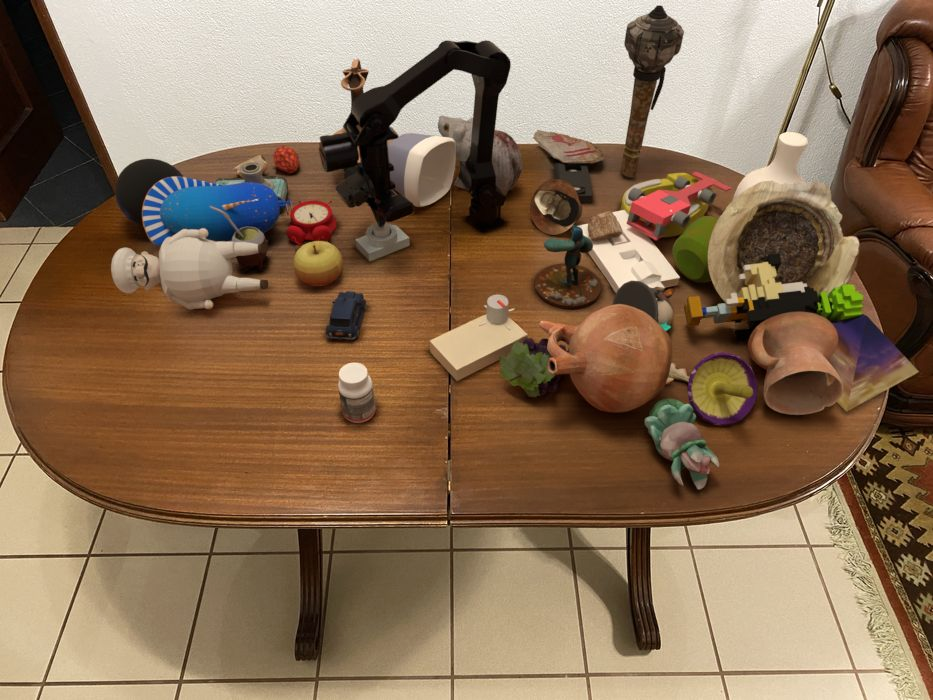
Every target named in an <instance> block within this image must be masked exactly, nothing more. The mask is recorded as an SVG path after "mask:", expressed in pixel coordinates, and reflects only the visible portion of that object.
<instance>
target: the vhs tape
mask: <svg viewBox="0 0 933 700" xmlns="http://www.w3.org/2000/svg"><path fill="white" fill-rule="evenodd" d="M553 173H554V174H553V175H554V179H560V180H563V181H566V182H568V183H569V184H570V185H572V187H573V188H574V189H575V191H576V192H577V195H578V198H579V201H580V203H581V204H583V203H587V204H591V203H592V202H593V196H594V193H593V188H592V184H591V179H590V174H589V167H588V163H563V162H554V165H553Z"/></svg>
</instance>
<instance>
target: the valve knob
mask: <svg viewBox="0 0 933 700" xmlns="http://www.w3.org/2000/svg"><path fill="white" fill-rule="evenodd" d="M486 306H487V308H486V314H487V320H488V321H489V322H490V323H493V324H502V323H504V322H506V320H507V318H508V316H509V312H508V311H509V299H508V298H507V297H506V296H505V295H502V294H492V295H490V296H489V297H487V300H486Z"/></svg>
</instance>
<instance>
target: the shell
mask: <svg viewBox="0 0 933 700" xmlns="http://www.w3.org/2000/svg"><path fill="white" fill-rule="evenodd" d="M251 162H255V163H259V164H261V165H262V168H263V171H262V174H263V173H265V172H266V171H267V170H268V169H269V163H268V162H266V159H265V157H264V156H263V155H261V154H258V155H256V156H253V157H252V158H250V159H248V160H245V161H242V162H241V163H240V164H238V165H237V166H235V167H232V171H233V170H236V173H237V175H238V176H239V177H240V178H244V176H243V175H242V174H241V172H240V168H241V166H243V165H244V164H247V163H251Z"/></svg>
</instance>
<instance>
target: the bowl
mask: <svg viewBox="0 0 933 700" xmlns="http://www.w3.org/2000/svg"><path fill="white" fill-rule="evenodd" d="M388 150H389V162H390V163H391V164H392V165H393V166H394V171H391V172H390V174H391V181H393V182H394V183H395V187H396V188H395V189H394V190H395V191H396V192H397V193H398V194H402V195H403V196H405V197H406V198H407V199H408V200H409V201H410V202H412V203H413V207H417V208H423V207H427V206H430V205H432V204H434V203H436V202H437V201H439V200H440V199H442V198H443V197H444V196H445V195H446V194H447V193H448V192H449V191H450V190H451V187H452V184H453V182H454V181H453V180H454V176H455V170H456V162H457V155H456V144H455V141H454V140H453V139H452V138H449V137H442V135H440V136H439V135H432V134H431V135H430V134H422V133H414V132H409V133H403V134H401V135H399V137H398V138H397V139H394V140H393V141H392V142H391V143H390V144H389V145H388Z"/></svg>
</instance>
